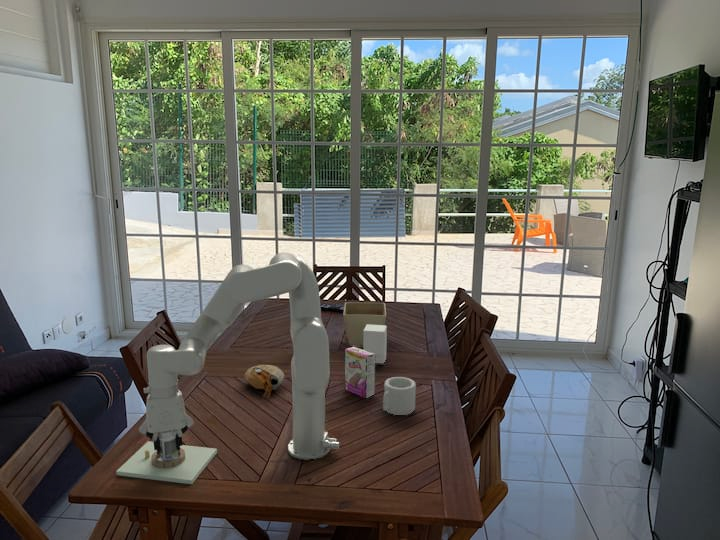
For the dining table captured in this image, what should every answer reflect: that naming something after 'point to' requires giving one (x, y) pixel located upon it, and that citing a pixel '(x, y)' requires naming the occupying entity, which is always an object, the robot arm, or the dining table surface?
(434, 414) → the dining table surface
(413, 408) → the mug
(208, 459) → the socket board
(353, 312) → the flower pot
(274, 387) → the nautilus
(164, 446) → the pill bottle
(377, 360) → the supplement box
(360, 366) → the candy bar box
